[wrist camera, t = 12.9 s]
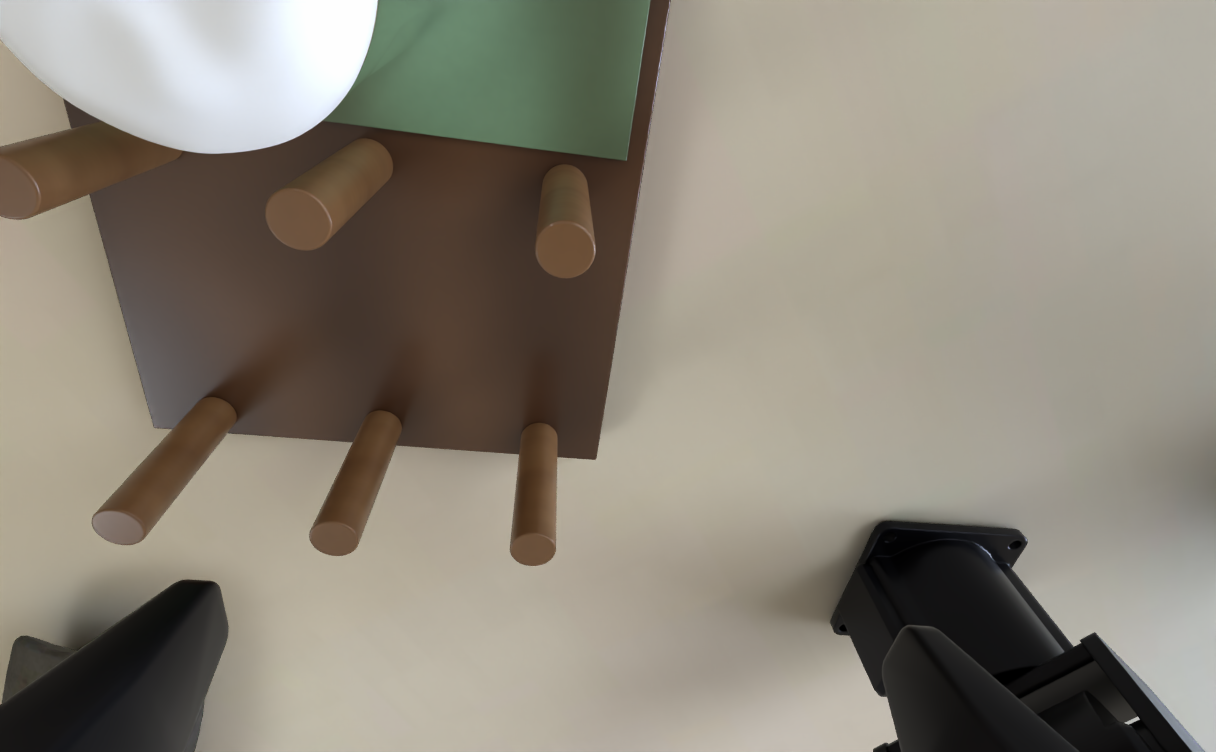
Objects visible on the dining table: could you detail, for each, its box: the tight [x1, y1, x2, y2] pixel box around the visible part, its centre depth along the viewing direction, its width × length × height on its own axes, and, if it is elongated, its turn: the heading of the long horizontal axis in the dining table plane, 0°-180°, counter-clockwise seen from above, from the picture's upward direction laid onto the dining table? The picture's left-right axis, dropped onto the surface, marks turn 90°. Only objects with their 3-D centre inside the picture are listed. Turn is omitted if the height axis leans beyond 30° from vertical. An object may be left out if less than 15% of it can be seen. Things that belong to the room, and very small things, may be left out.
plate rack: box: [0, 0, 671, 566], centre depth 14 cm, size 14×18×6 cm
